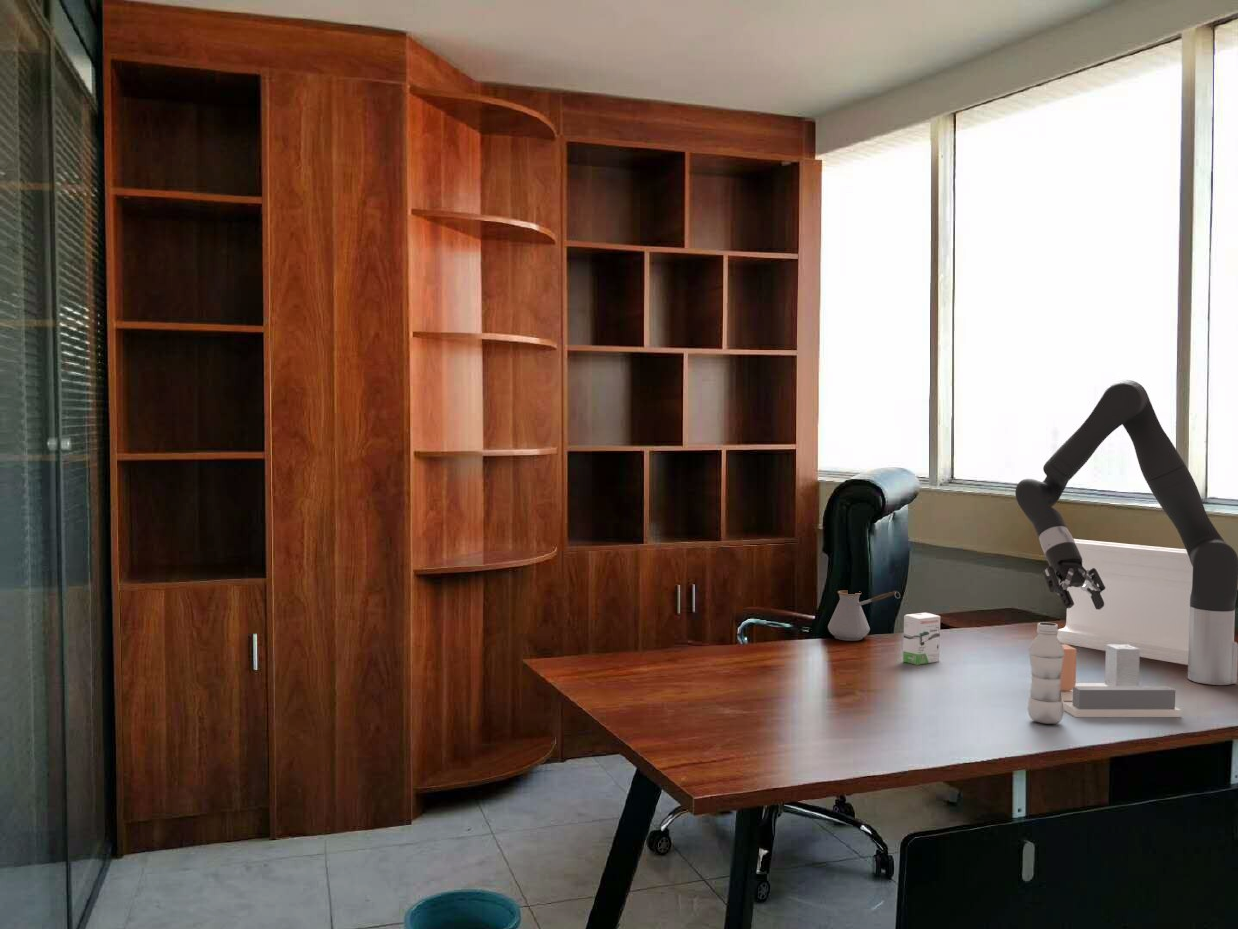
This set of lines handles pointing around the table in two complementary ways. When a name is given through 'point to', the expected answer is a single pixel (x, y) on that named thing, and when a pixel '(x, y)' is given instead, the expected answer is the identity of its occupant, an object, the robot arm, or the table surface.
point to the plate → (1113, 711)
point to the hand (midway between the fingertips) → (1085, 607)
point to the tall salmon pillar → (1068, 668)
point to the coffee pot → (851, 616)
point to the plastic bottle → (1046, 675)
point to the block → (1133, 600)
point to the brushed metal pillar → (1122, 665)
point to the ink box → (921, 638)
